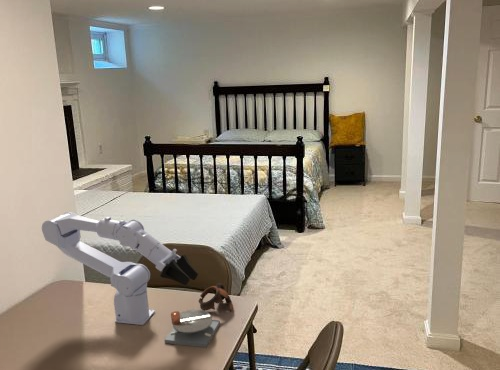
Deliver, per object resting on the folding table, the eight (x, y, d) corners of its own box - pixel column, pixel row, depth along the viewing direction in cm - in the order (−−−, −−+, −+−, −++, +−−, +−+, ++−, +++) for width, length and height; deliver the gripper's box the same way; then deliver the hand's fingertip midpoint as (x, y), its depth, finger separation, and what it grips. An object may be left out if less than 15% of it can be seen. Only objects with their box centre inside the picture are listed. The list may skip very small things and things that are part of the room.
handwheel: (166, 337, 124) (164, 319, 122) (182, 316, 134) (180, 299, 133) (204, 342, 121) (203, 322, 120) (217, 320, 131) (216, 302, 130)
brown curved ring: (234, 317, 136) (219, 299, 133) (208, 328, 139) (192, 310, 135) (237, 290, 146) (223, 272, 143) (212, 300, 149) (198, 283, 146)
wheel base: (164, 342, 124) (164, 338, 123) (181, 319, 135) (181, 315, 135) (206, 347, 121) (206, 343, 120) (220, 323, 132) (219, 319, 132)
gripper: (152, 242, 122) (192, 272, 120) (171, 237, 136) (207, 264, 134) (138, 263, 122) (177, 294, 120) (158, 256, 137) (194, 283, 134)
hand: (192, 279), depth 127 cm, fingers open, 7 cm apart
